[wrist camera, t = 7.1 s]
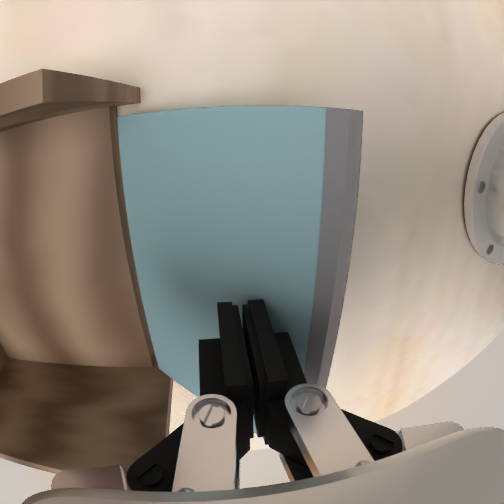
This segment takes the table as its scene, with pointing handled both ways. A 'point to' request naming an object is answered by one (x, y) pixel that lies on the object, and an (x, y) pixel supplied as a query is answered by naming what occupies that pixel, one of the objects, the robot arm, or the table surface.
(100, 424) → the box
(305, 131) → the light blue panel
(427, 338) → the table surface
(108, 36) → the table surface
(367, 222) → the table surface
